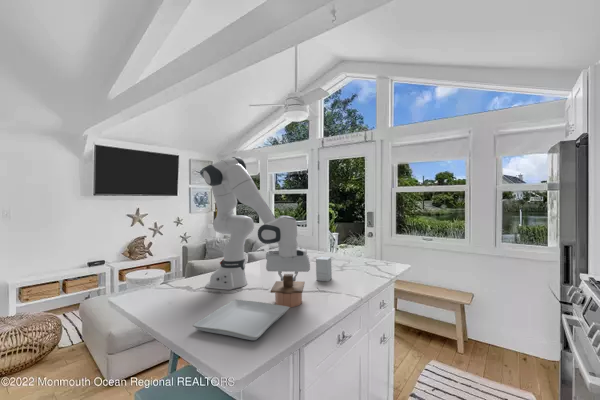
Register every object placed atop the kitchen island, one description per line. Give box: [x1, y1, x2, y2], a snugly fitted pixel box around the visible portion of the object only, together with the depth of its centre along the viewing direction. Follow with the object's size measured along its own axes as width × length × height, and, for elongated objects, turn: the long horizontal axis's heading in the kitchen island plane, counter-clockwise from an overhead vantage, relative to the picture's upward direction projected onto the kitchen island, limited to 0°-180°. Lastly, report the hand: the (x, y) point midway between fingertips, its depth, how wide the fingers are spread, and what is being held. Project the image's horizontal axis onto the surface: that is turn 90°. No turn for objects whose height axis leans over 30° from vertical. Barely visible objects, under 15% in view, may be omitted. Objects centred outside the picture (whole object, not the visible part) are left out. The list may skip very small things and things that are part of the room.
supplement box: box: [315, 256, 333, 282], centre depth 166 cm, size 7×7×13 cm
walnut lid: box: [269, 273, 305, 294], centre depth 131 cm, size 14×14×6 cm
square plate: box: [192, 299, 291, 341], centre depth 110 cm, size 27×27×4 cm
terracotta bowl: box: [274, 292, 303, 308], centre depth 131 cm, size 12×12×6 cm
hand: (288, 280), depth 131 cm, fingers closed on walnut lid, 4 cm apart
